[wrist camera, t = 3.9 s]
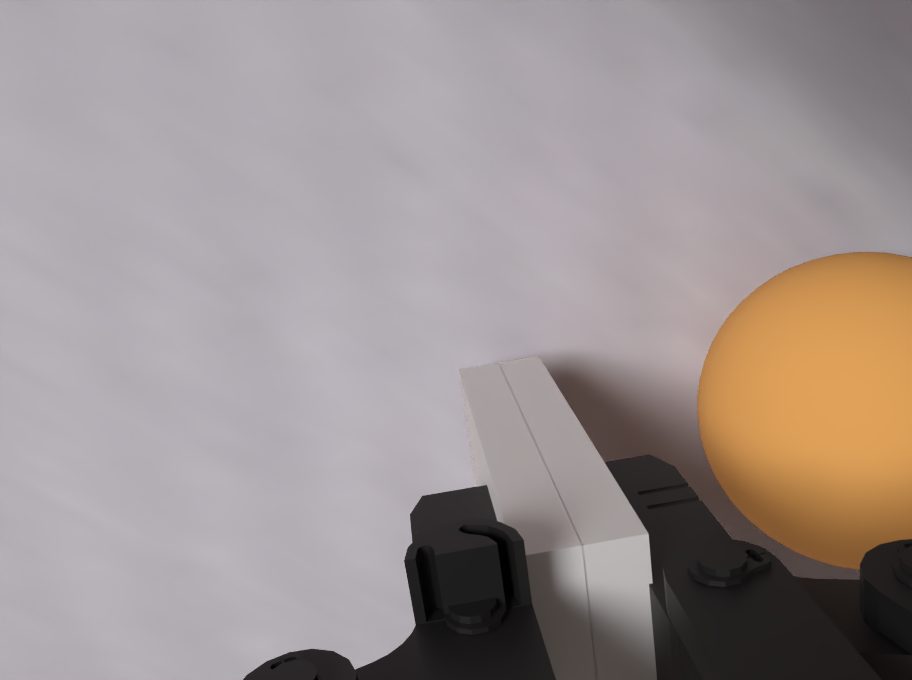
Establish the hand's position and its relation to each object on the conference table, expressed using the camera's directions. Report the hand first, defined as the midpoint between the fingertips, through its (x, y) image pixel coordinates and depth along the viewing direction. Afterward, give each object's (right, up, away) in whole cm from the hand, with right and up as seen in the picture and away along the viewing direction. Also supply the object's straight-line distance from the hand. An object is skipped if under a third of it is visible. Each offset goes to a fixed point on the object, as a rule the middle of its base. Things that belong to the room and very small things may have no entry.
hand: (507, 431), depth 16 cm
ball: (+6, +1, -1) cm, 6 cm away
